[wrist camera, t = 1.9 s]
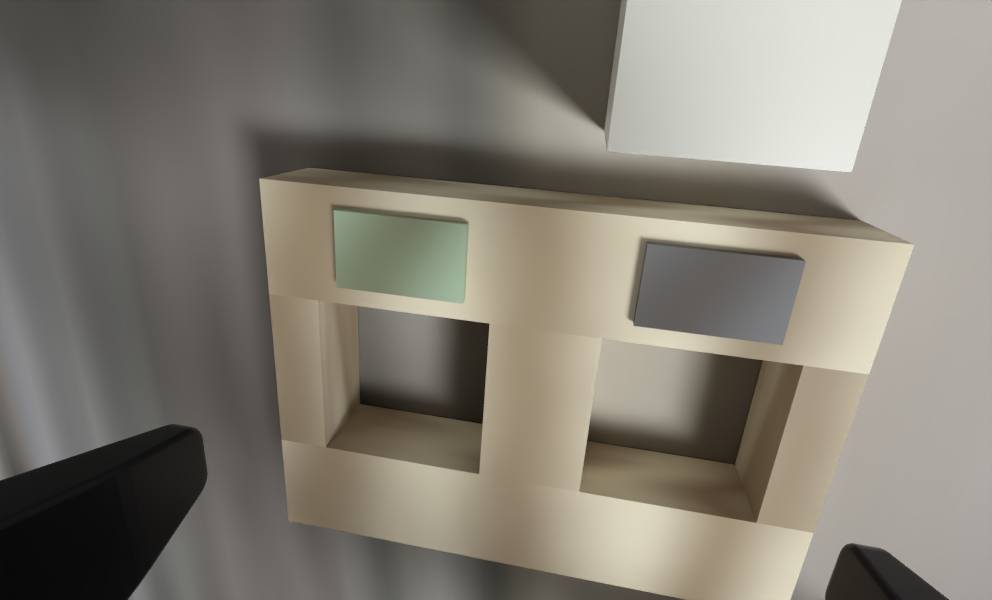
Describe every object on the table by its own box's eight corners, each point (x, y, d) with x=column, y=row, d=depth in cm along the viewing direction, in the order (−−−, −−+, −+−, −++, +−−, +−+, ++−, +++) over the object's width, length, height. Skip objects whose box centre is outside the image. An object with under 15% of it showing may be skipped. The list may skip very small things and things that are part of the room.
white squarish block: (770, -9, 15) (936, -120, 8) (737, 141, 16) (851, 172, 9) (623, -15, 16) (644, -124, 8) (604, 130, 17) (606, 151, 10)
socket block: (861, 220, 16) (920, 247, 13) (759, 550, 21) (786, 626, 18) (308, 167, 19) (253, 180, 16) (325, 471, 24) (284, 526, 21)
